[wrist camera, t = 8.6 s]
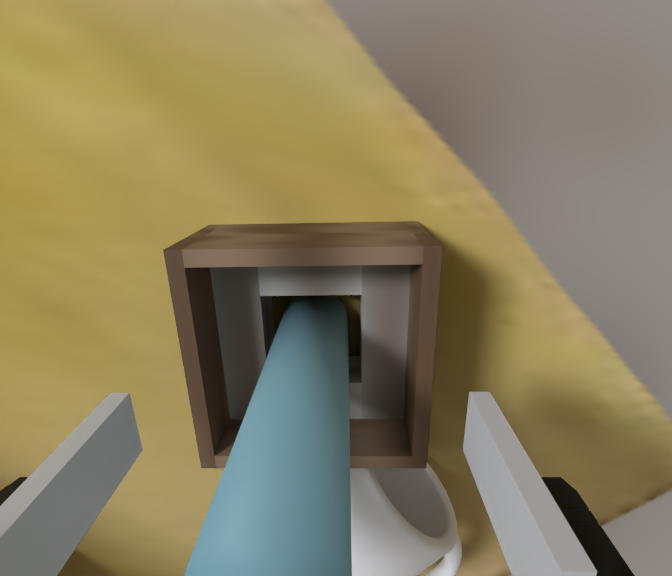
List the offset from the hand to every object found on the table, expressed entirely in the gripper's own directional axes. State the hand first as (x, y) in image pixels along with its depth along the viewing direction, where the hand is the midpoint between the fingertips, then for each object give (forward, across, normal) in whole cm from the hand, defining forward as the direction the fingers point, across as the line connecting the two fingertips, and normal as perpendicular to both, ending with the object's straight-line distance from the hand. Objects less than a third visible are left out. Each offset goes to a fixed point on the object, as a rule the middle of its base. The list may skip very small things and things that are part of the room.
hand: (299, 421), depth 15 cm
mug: (+10, +4, -14) cm, 18 cm away
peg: (+10, 0, 0) cm, 10 cm away
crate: (+10, 0, 0) cm, 10 cm away
